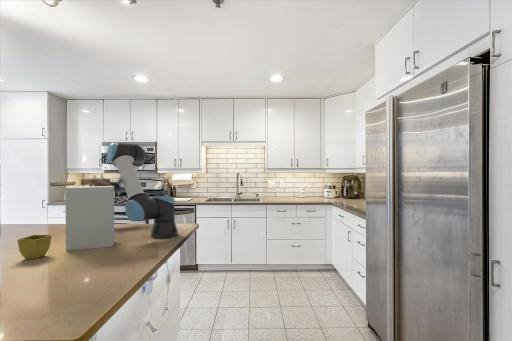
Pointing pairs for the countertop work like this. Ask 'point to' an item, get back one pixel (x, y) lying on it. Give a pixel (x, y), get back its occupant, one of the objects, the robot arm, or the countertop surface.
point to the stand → (89, 217)
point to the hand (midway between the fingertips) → (97, 176)
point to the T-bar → (95, 181)
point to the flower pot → (34, 246)
